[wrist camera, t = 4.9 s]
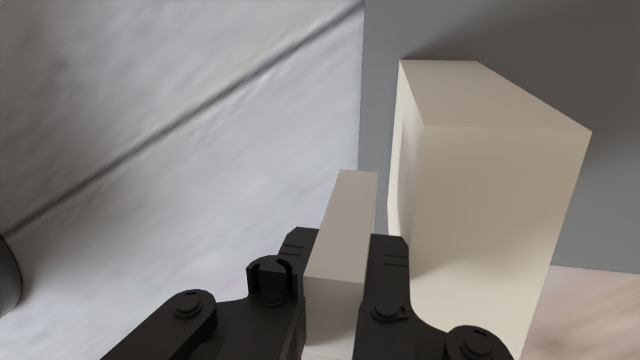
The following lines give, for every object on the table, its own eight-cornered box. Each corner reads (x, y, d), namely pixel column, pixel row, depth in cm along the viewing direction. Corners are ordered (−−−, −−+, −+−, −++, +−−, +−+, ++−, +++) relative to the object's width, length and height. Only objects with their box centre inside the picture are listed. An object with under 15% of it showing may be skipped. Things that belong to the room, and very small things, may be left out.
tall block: (387, 204, 24) (395, 366, 14) (399, 59, 20) (424, 125, 10) (451, 208, 24) (512, 380, 13) (476, 60, 20) (592, 132, 9)
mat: (355, 241, 27) (354, 244, 26) (366, -13, 20) (365, -13, 19) (714, 278, 23) (719, 282, 23) (881, -17, 16) (892, -18, 16)
